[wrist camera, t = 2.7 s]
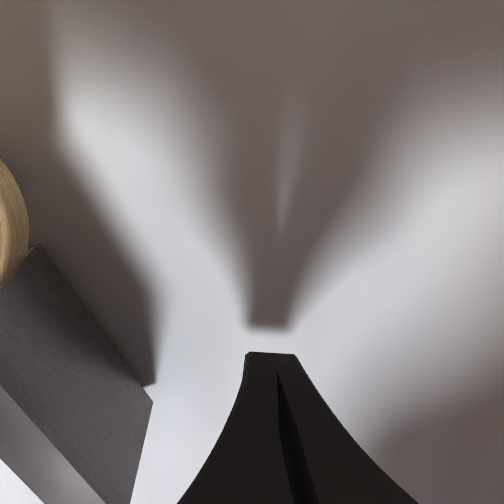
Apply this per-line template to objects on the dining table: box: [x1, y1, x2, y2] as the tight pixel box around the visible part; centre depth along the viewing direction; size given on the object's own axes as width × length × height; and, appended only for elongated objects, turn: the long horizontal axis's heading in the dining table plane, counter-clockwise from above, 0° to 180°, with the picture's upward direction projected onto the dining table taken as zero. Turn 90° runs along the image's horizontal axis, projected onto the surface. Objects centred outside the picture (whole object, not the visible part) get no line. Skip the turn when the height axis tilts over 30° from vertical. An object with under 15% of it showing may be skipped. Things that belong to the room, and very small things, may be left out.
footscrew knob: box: [0, 159, 153, 504], centre depth 10 cm, size 10×4×4 cm, turn 24°
